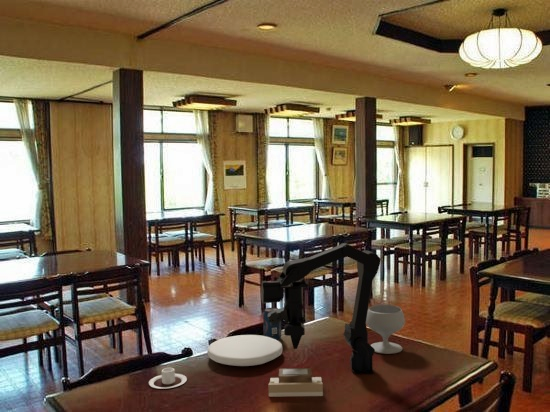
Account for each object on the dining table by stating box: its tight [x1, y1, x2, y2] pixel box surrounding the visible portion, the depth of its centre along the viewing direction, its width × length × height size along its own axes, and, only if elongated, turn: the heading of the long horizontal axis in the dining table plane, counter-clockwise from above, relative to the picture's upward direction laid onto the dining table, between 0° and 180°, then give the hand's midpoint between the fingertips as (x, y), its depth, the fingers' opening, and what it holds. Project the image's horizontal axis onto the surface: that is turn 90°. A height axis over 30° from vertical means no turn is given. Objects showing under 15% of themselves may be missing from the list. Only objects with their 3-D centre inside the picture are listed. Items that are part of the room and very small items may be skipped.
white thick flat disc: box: [207, 334, 283, 367], centre depth 190 cm, size 28×6×27 cm
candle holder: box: [148, 367, 188, 390], centre depth 170 cm, size 12×12×4 cm
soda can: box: [262, 307, 282, 341], centre depth 208 cm, size 7×7×12 cm
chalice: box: [366, 304, 406, 355], centre depth 193 cm, size 14×14×15 cm
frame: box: [278, 367, 313, 383], centre depth 163 cm, size 10×6×4 cm, turn 88°
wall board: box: [267, 376, 324, 398], centre depth 162 cm, size 16×11×4 cm
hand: (295, 348), depth 170 cm, fingers closed
